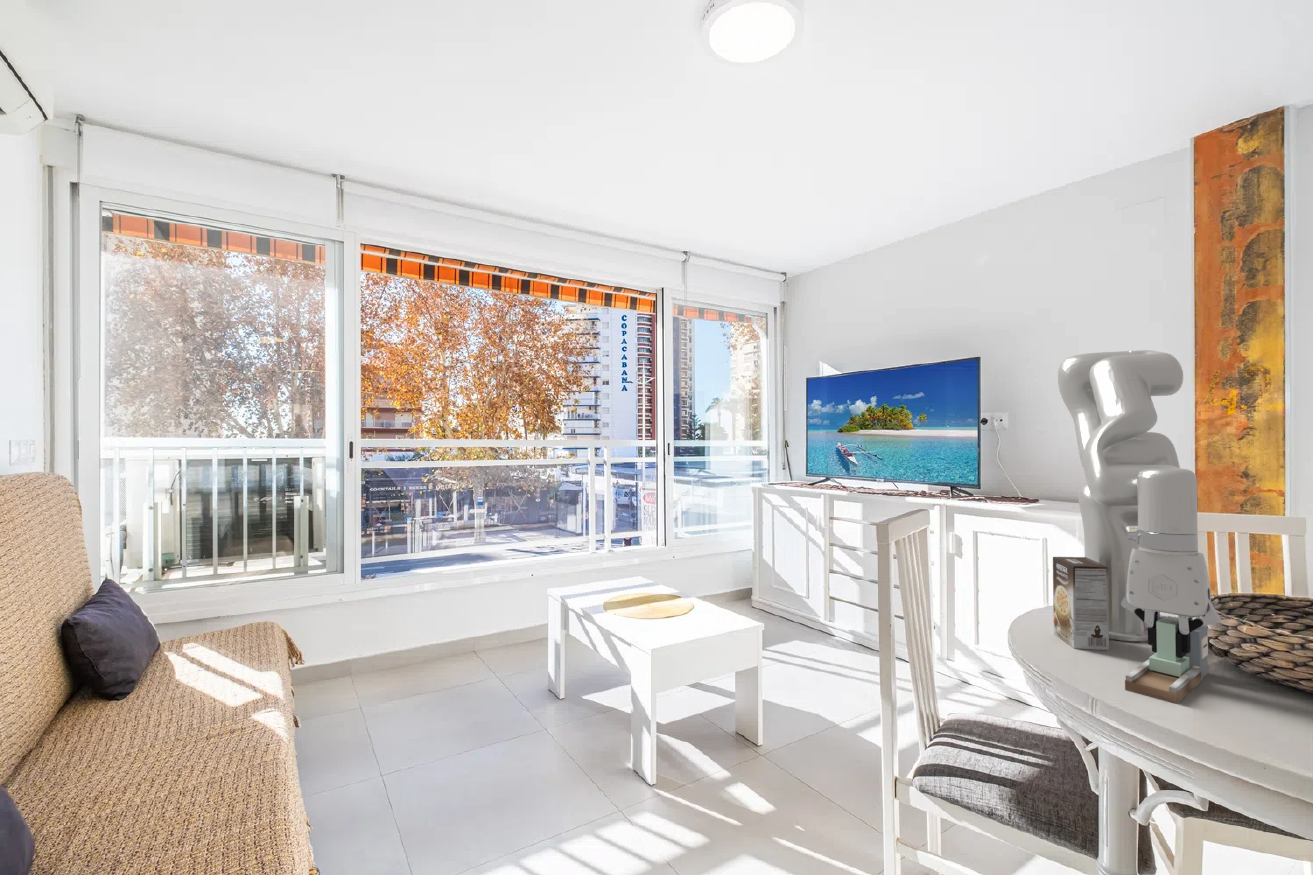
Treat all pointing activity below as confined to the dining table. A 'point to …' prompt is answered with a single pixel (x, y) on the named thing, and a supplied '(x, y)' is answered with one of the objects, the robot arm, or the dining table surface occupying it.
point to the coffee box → (1081, 602)
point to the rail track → (1162, 683)
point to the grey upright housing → (1198, 649)
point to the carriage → (1168, 650)
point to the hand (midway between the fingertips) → (1169, 652)
